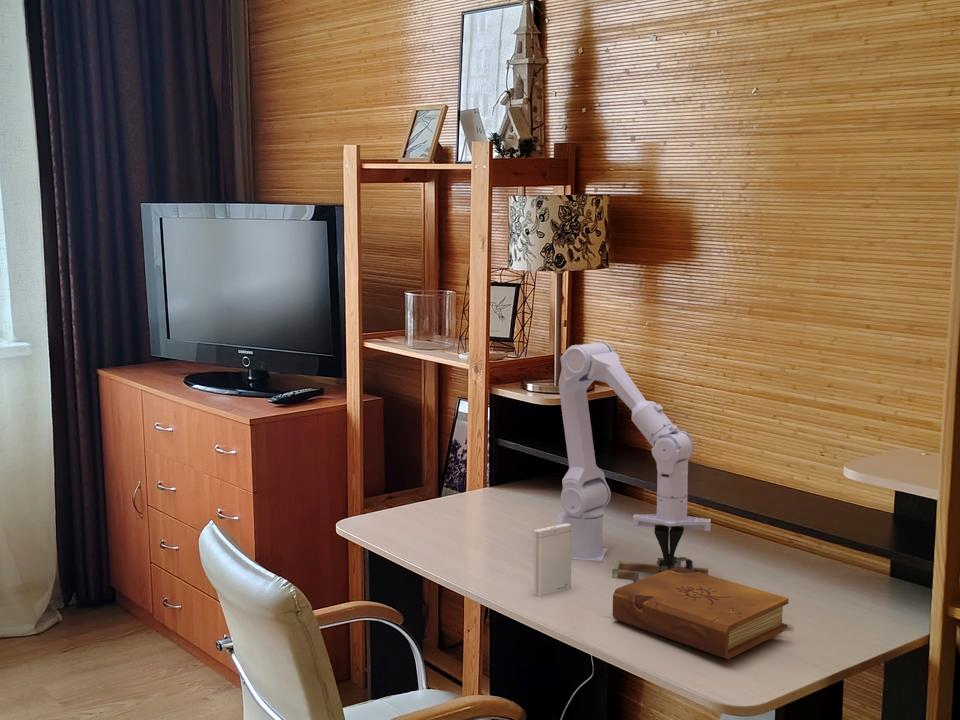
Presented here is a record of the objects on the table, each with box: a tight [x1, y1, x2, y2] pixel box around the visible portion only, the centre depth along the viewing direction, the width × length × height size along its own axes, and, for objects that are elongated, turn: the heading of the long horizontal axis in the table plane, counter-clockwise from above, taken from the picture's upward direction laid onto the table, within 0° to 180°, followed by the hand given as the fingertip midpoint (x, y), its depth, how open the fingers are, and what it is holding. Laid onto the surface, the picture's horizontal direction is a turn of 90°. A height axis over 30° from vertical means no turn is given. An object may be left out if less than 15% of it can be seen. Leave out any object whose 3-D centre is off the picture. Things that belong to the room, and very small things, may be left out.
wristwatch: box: [666, 555, 695, 570], centre depth 204 cm, size 3×5×5 cm, turn 111°
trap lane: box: [611, 557, 709, 583], centre depth 205 cm, size 18×15×2 cm
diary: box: [612, 566, 790, 660], centre depth 181 cm, size 23×19×6 cm
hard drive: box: [533, 523, 572, 598], centre depth 196 cm, size 2×8×12 cm, turn 125°
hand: (670, 564), depth 203 cm, fingers closed, pressing on wristwatch
